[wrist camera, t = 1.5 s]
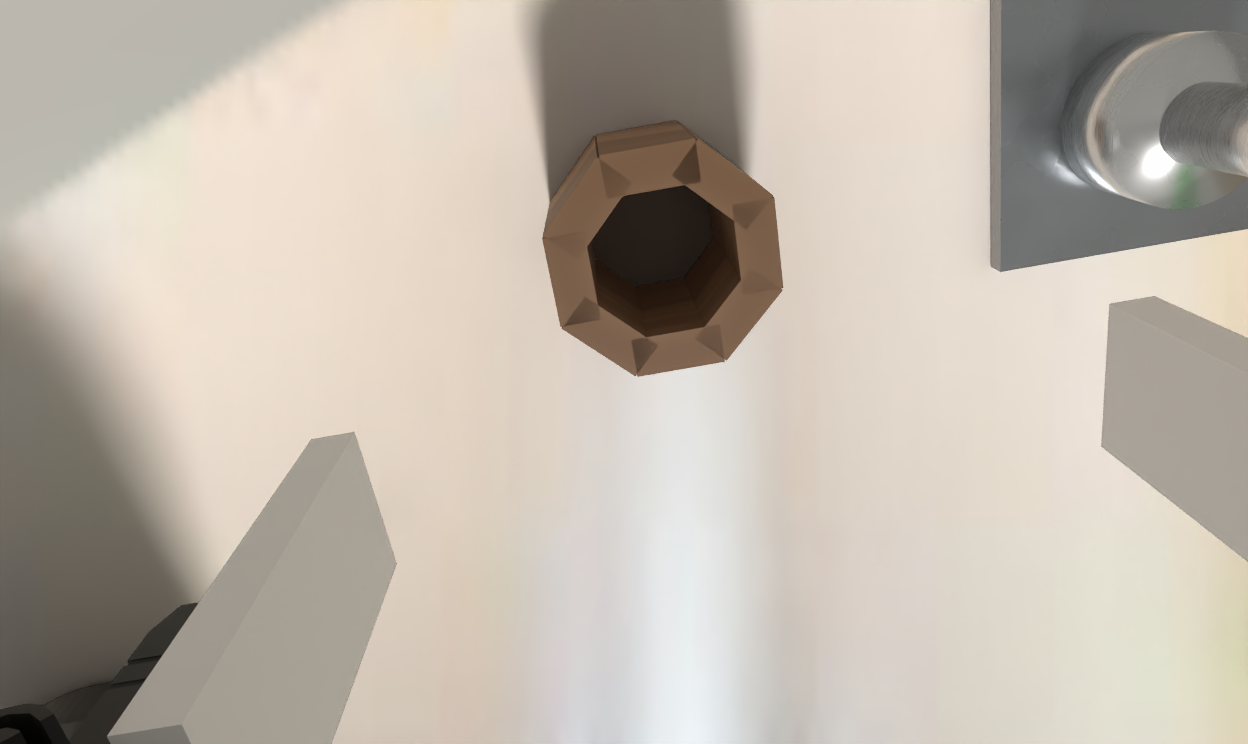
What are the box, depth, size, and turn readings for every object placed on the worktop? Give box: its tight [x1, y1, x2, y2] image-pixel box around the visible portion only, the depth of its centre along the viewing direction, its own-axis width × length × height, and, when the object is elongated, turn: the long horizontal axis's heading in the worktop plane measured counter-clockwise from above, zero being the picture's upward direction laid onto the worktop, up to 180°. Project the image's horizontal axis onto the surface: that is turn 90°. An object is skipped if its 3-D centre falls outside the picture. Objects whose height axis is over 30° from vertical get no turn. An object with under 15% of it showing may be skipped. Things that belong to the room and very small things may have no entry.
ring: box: [542, 121, 783, 376], centre depth 29 cm, size 7×7×6 cm
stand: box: [991, 0, 1248, 272], centre depth 25 cm, size 10×10×12 cm
